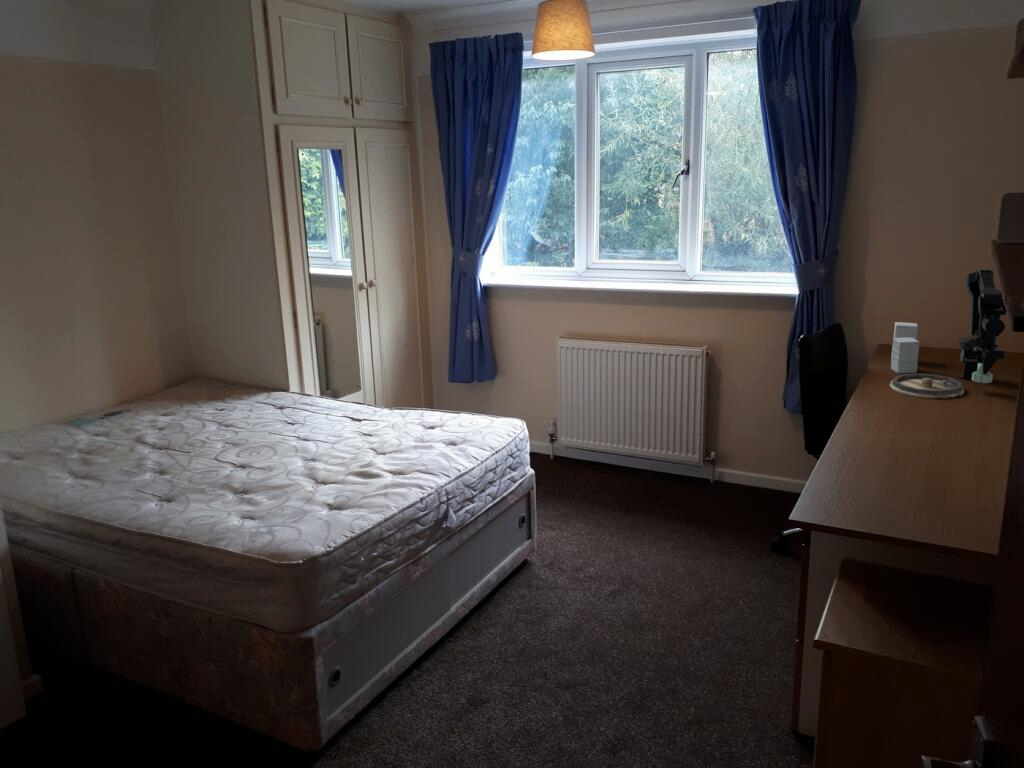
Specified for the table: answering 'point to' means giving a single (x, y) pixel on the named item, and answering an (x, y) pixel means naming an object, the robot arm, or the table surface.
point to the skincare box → (905, 330)
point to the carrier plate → (917, 385)
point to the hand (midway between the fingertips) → (982, 372)
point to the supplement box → (905, 355)
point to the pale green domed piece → (981, 375)
